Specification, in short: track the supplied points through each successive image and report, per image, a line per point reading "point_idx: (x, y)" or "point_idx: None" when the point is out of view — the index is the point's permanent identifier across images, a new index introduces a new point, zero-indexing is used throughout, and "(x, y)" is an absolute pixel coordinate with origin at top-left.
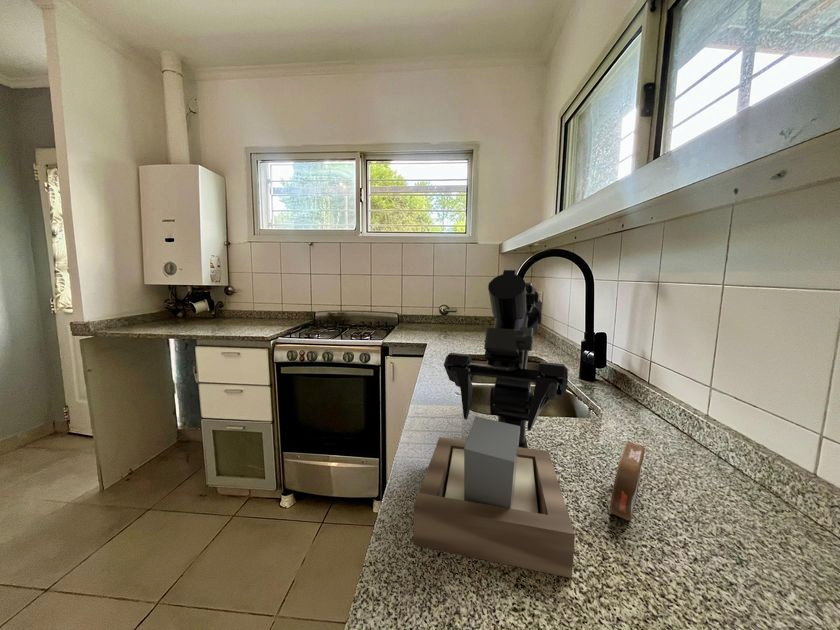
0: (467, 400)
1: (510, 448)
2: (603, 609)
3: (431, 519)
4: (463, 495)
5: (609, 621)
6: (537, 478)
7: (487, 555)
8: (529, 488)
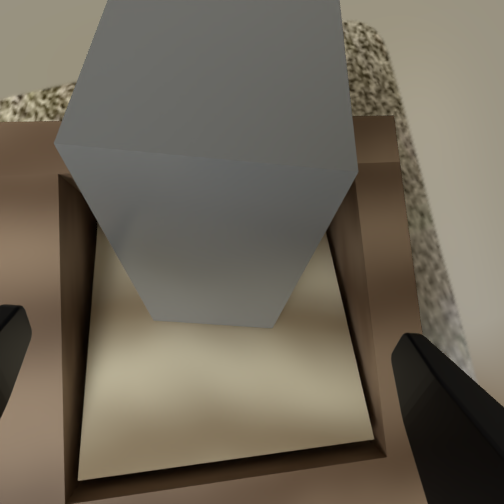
0: (475, 417)
1: (131, 17)
2: (6, 118)
3: None
4: None
5: (3, 100)
6: (74, 395)
7: None
8: (106, 343)
